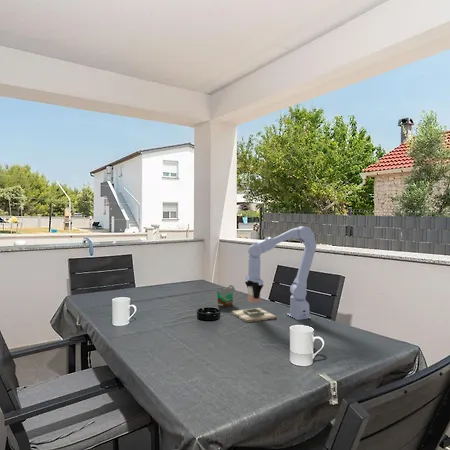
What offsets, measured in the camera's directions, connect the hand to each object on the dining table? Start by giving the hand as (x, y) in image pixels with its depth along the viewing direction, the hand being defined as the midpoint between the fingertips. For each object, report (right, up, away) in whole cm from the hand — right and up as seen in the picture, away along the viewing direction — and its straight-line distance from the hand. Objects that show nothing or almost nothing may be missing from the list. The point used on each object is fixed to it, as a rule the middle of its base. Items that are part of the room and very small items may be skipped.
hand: (253, 297), depth 175 cm
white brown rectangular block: (0, -2, 0) cm, 2 cm away
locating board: (0, -9, 0) cm, 9 cm away
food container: (-12, -9, +19) cm, 24 cm away
